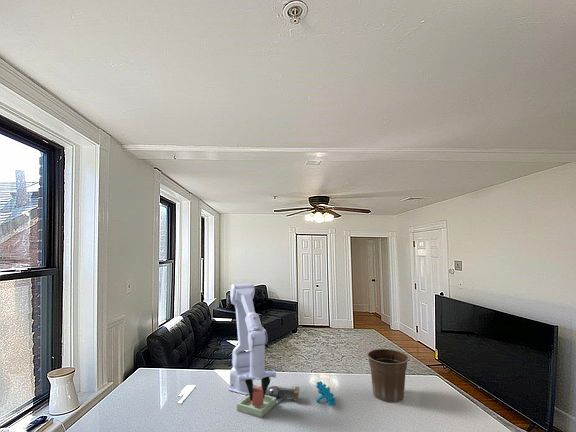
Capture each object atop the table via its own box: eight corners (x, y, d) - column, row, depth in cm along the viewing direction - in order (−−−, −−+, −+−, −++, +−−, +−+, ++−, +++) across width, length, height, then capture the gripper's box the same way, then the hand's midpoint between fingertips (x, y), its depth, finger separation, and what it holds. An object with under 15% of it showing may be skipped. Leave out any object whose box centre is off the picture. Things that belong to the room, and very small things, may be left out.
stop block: (252, 406, 126) (252, 392, 126) (250, 400, 130) (250, 387, 130) (263, 404, 127) (263, 390, 127) (261, 399, 131) (261, 386, 131)
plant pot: (385, 409, 128) (385, 365, 128) (359, 390, 142) (359, 351, 143) (417, 400, 134) (417, 359, 135) (390, 383, 149) (389, 346, 150)
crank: (267, 399, 133) (267, 391, 133) (269, 393, 138) (269, 385, 138) (297, 401, 132) (298, 393, 132) (299, 395, 137) (299, 387, 137)
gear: (333, 407, 126) (315, 384, 129) (322, 417, 126) (305, 393, 130) (339, 398, 136) (323, 376, 140) (329, 407, 137) (313, 385, 140)
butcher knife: (168, 404, 131) (168, 401, 131) (185, 386, 146) (185, 384, 146) (181, 405, 131) (181, 402, 131) (196, 387, 145) (196, 384, 145)
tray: (236, 410, 126) (236, 403, 126) (252, 398, 136) (252, 391, 136) (261, 418, 121) (261, 411, 121) (276, 404, 131) (276, 397, 131)
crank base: (263, 400, 134) (263, 398, 134) (275, 389, 143) (275, 388, 143) (277, 404, 131) (277, 402, 131) (288, 393, 140) (288, 391, 140)
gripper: (240, 368, 123) (239, 406, 122) (278, 363, 128) (278, 400, 127) (237, 361, 130) (236, 397, 129) (273, 357, 134) (273, 391, 134)
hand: (256, 398), depth 129 cm, fingers closed on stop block, 4 cm apart
